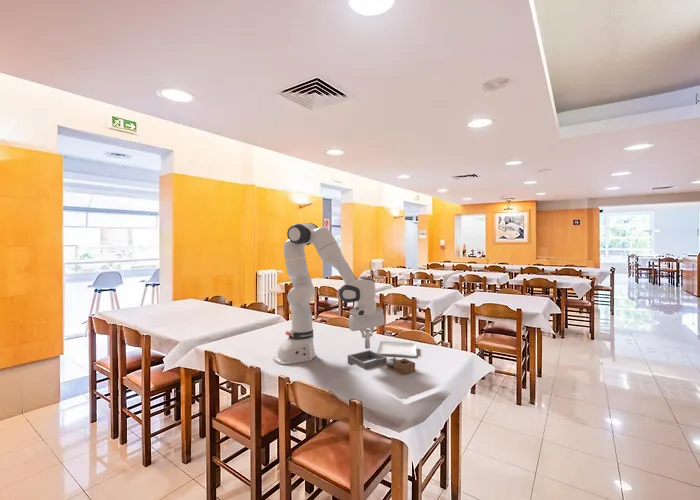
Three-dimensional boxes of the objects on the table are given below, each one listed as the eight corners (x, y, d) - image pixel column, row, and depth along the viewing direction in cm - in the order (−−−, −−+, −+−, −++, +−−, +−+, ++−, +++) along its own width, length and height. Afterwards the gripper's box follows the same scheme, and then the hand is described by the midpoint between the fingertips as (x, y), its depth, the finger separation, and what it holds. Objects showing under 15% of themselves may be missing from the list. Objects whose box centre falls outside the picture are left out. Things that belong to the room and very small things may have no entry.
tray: (364, 372, 159) (364, 363, 159) (347, 363, 171) (347, 355, 170) (386, 365, 167) (386, 357, 167) (369, 357, 178) (369, 350, 178)
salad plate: (416, 361, 173) (416, 355, 173) (375, 359, 177) (375, 352, 177) (416, 348, 194) (416, 342, 194) (380, 346, 198) (380, 340, 198)
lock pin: (367, 348, 167) (366, 330, 166) (364, 347, 169) (363, 329, 168) (370, 347, 168) (370, 330, 168) (368, 346, 170) (367, 329, 170)
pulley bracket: (401, 378, 151) (401, 366, 151) (381, 368, 163) (381, 357, 162) (417, 373, 156) (417, 362, 156) (396, 364, 168) (396, 353, 168)
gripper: (379, 305, 176) (379, 331, 177) (346, 311, 165) (347, 338, 165) (386, 307, 171) (387, 334, 171) (354, 313, 159) (354, 342, 160)
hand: (367, 336), depth 168 cm, fingers closed on lock pin, 2 cm apart
